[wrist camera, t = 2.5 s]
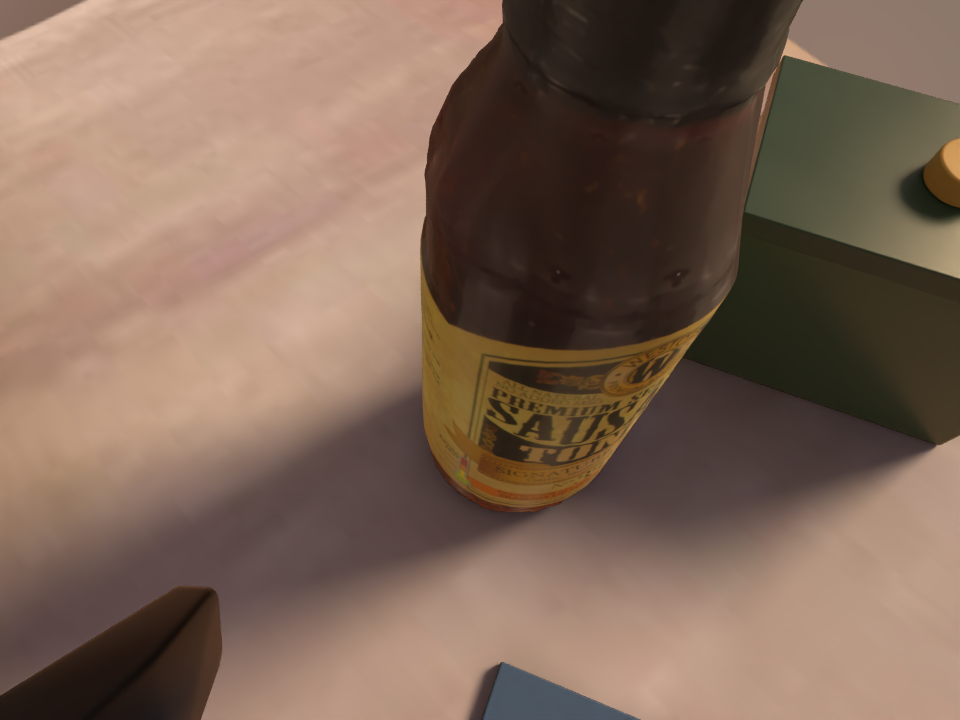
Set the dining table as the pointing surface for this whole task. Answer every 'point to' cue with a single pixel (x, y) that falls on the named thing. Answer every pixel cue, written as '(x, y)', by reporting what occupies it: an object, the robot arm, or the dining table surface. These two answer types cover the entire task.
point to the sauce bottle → (581, 228)
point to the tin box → (849, 253)
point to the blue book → (541, 700)
